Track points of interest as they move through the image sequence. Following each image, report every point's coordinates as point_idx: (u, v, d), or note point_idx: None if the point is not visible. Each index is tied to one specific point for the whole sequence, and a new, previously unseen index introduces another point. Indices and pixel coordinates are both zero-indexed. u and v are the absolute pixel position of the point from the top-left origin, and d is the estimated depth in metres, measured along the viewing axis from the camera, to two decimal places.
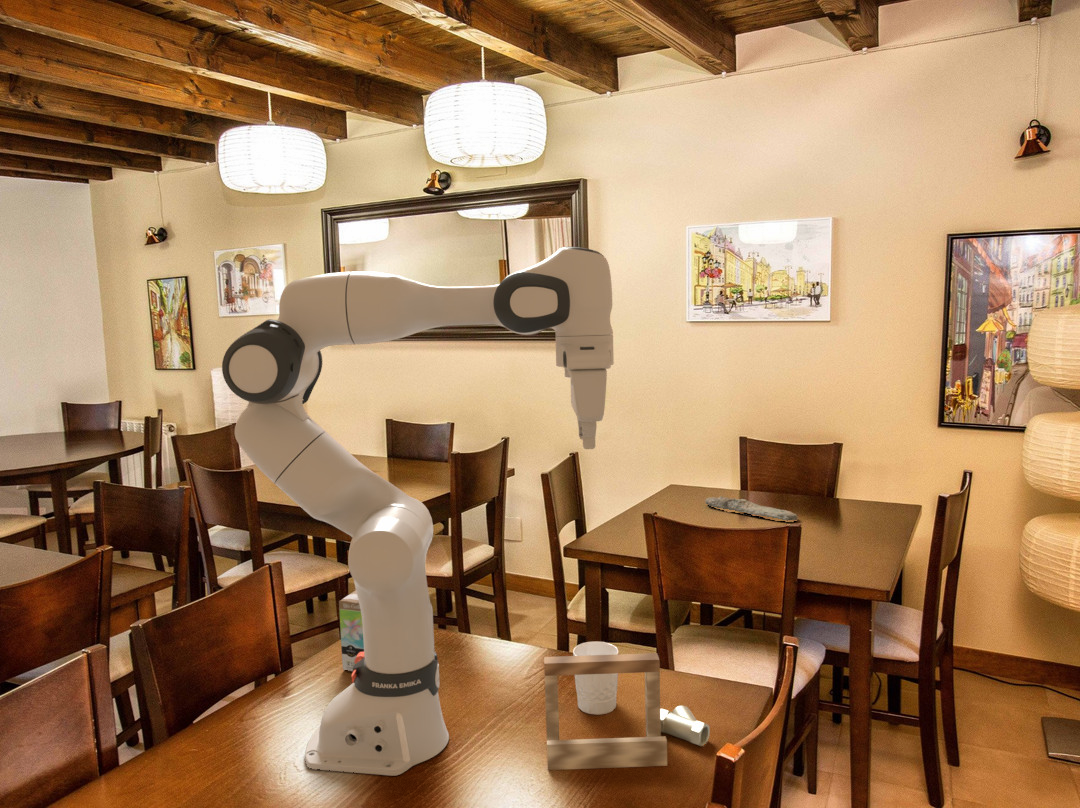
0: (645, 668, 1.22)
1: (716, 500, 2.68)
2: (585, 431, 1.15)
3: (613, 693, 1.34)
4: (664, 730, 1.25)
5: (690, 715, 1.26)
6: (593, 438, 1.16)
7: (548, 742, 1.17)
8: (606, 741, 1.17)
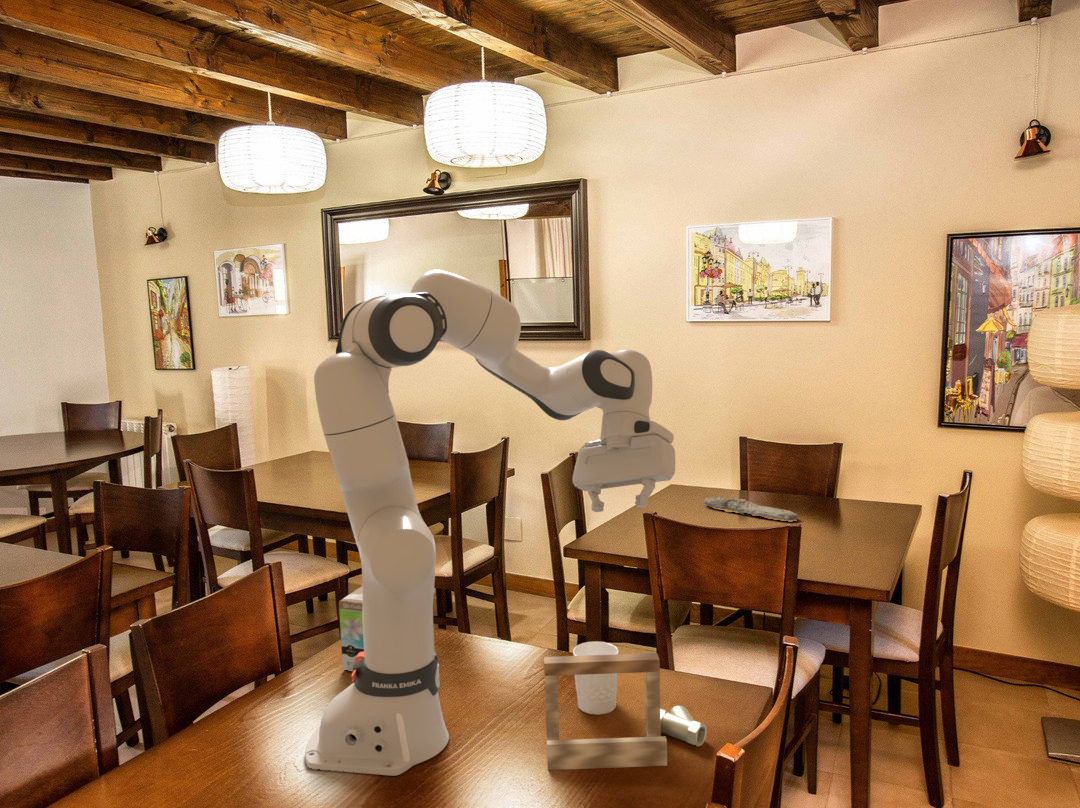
0: (645, 668, 1.22)
1: (715, 500, 2.68)
2: (647, 488, 1.34)
3: (613, 693, 1.34)
4: (661, 730, 1.25)
5: (687, 715, 1.26)
6: (647, 498, 1.35)
7: (548, 742, 1.17)
8: (606, 741, 1.17)
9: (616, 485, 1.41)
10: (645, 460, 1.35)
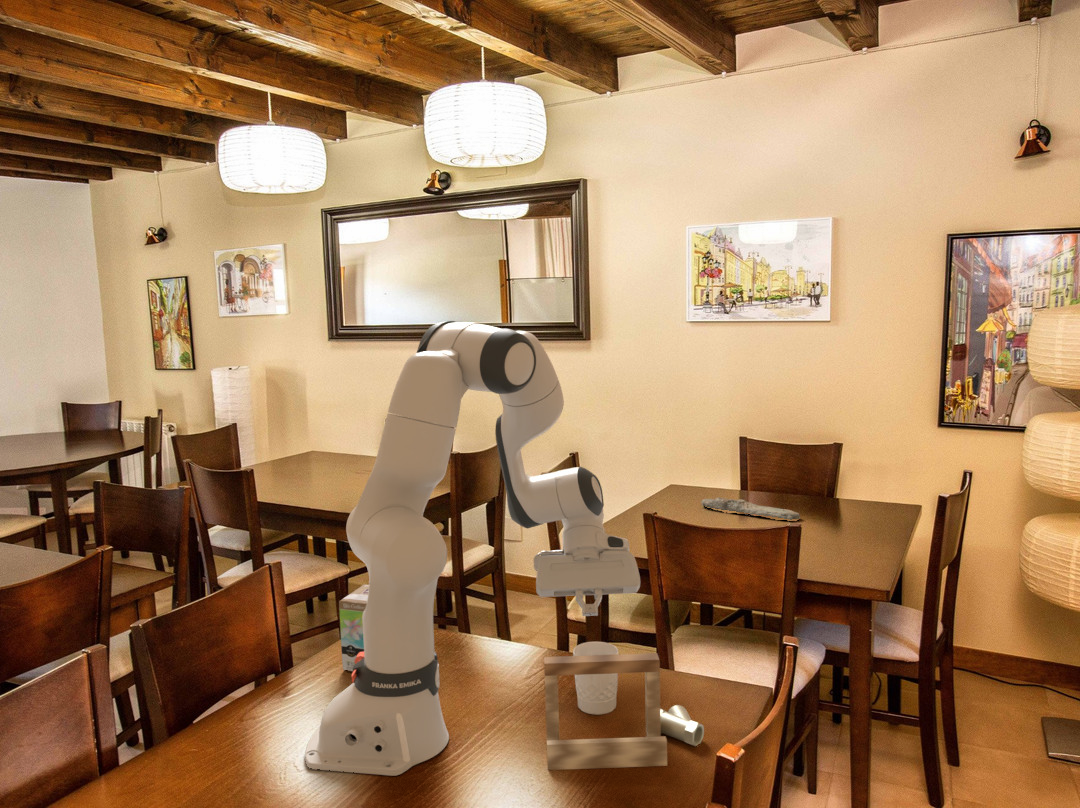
0: (645, 668, 1.22)
1: (714, 501, 2.67)
2: (600, 599, 1.49)
3: (613, 693, 1.34)
4: None
5: (685, 715, 1.26)
6: None
7: (548, 742, 1.17)
8: (606, 741, 1.17)
9: None
10: (619, 572, 1.51)
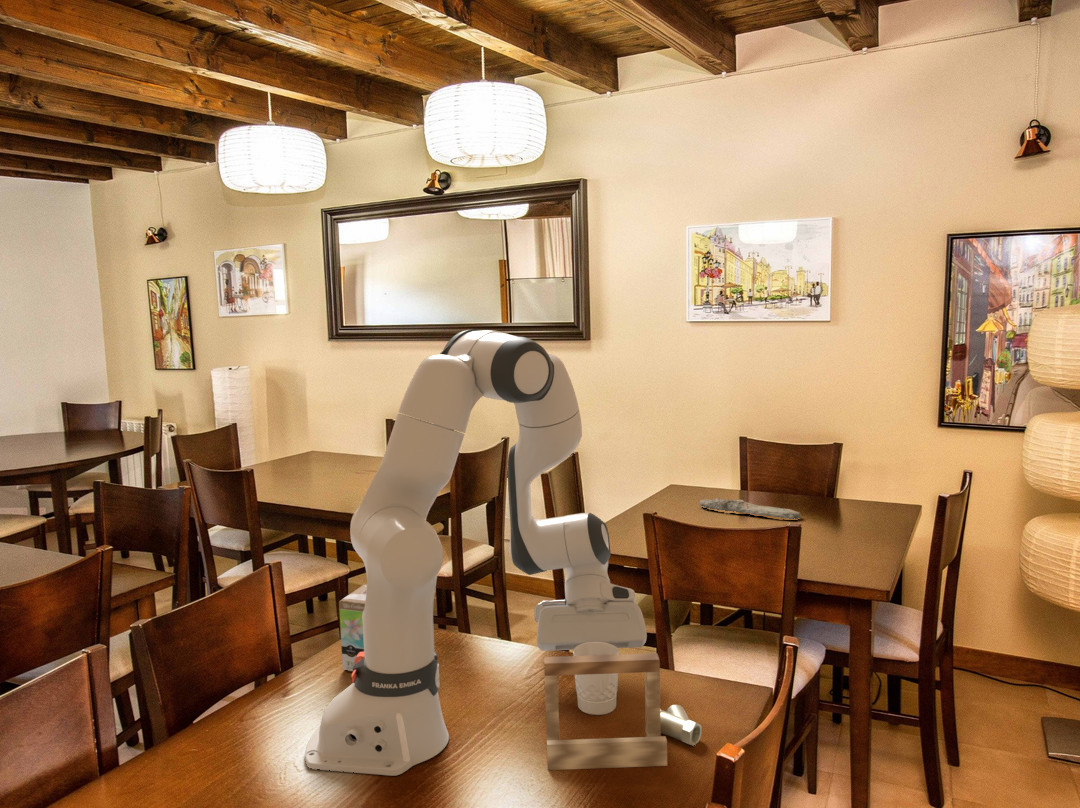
0: (645, 668, 1.22)
1: (714, 502, 2.66)
2: None
3: (613, 693, 1.34)
4: None
5: (683, 714, 1.26)
6: None
7: (548, 742, 1.17)
8: (606, 741, 1.17)
9: None
10: (624, 625, 1.43)
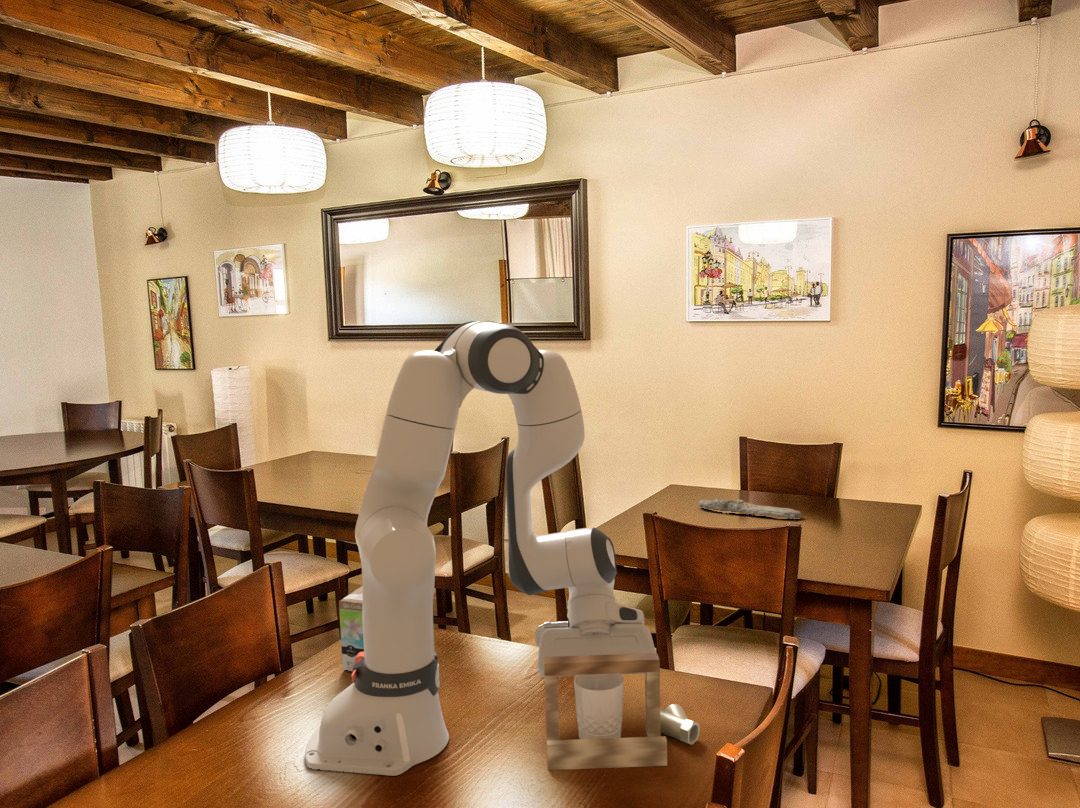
0: (645, 668, 1.22)
1: (713, 502, 2.65)
2: None
3: (615, 727, 1.23)
4: None
5: (681, 713, 1.26)
6: None
7: (548, 742, 1.17)
8: (606, 741, 1.17)
9: None
10: (633, 649, 1.33)
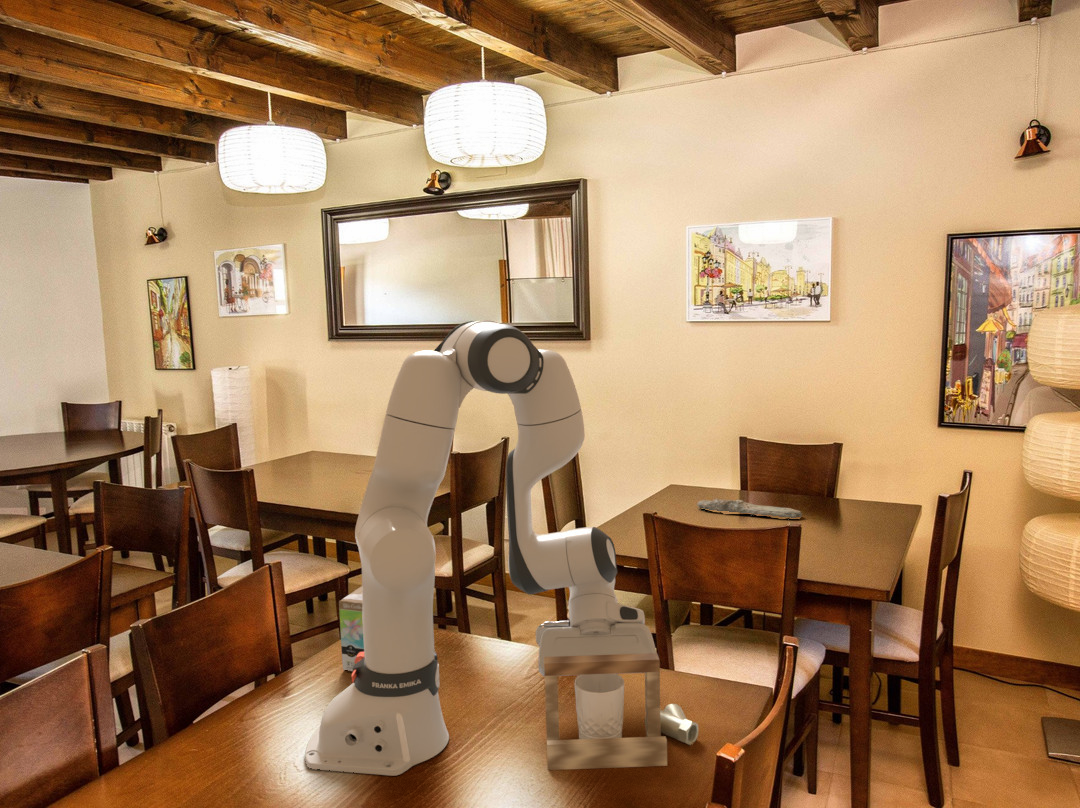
0: (645, 668, 1.22)
1: (713, 503, 2.64)
2: None
3: (615, 730, 1.22)
4: None
5: (680, 713, 1.26)
6: None
7: (548, 742, 1.17)
8: (606, 741, 1.17)
9: None
10: (633, 648, 1.33)
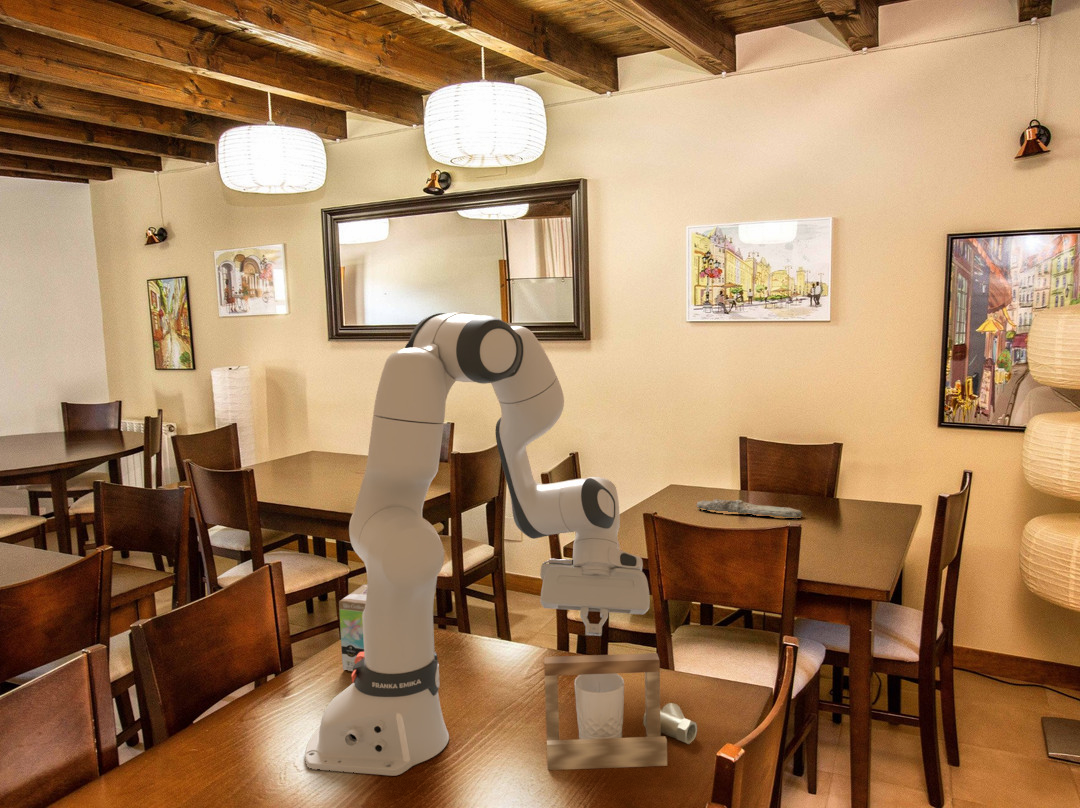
0: (645, 668, 1.22)
1: (713, 503, 2.64)
2: (605, 619, 1.43)
3: (615, 730, 1.22)
4: None
5: (678, 713, 1.27)
6: None
7: (548, 742, 1.17)
8: (606, 741, 1.17)
9: None
10: (628, 592, 1.44)
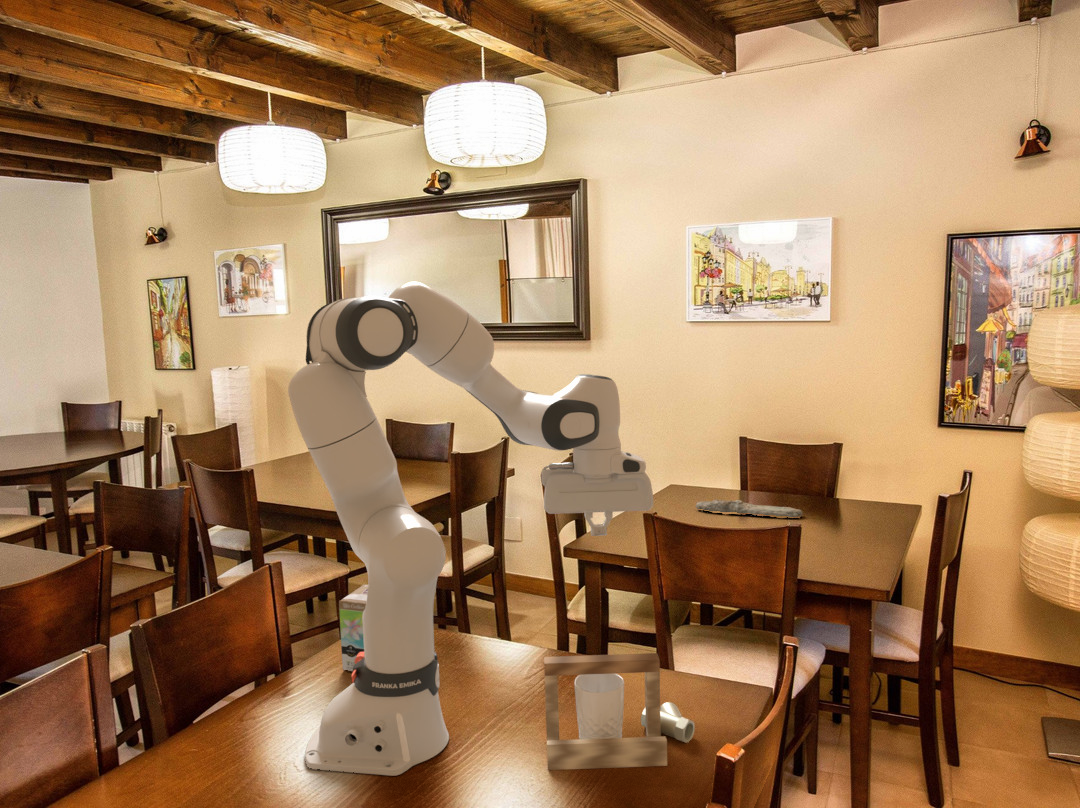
0: (645, 668, 1.22)
1: (713, 504, 2.63)
2: None
3: (615, 730, 1.22)
4: None
5: (676, 712, 1.27)
6: None
7: (548, 742, 1.17)
8: (606, 741, 1.17)
9: None
10: (632, 495, 1.43)
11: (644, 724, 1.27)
